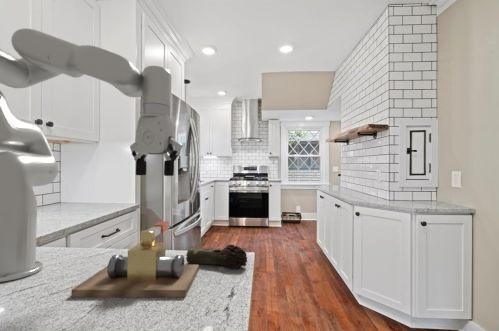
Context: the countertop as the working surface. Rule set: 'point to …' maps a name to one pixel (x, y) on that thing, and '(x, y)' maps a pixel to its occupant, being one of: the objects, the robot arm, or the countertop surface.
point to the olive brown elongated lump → (218, 256)
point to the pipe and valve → (145, 264)
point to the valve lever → (153, 233)
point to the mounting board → (136, 285)
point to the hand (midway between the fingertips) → (154, 175)
